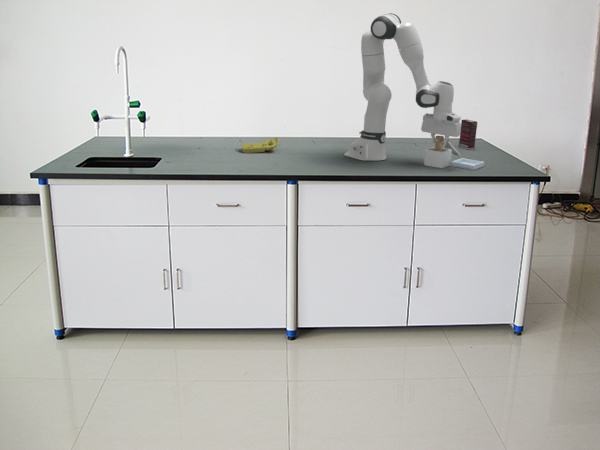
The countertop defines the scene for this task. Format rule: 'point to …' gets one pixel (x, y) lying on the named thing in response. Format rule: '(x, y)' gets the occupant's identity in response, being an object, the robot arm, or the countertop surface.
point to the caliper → (451, 147)
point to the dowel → (439, 143)
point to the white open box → (437, 158)
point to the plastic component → (260, 146)
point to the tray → (467, 164)
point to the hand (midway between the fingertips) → (439, 143)
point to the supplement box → (468, 134)
